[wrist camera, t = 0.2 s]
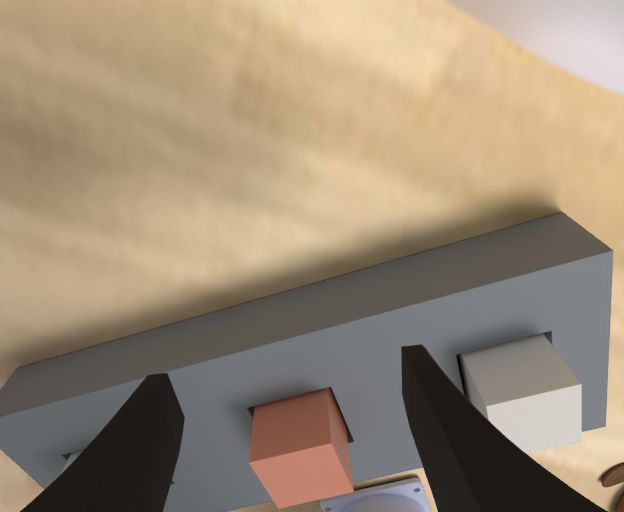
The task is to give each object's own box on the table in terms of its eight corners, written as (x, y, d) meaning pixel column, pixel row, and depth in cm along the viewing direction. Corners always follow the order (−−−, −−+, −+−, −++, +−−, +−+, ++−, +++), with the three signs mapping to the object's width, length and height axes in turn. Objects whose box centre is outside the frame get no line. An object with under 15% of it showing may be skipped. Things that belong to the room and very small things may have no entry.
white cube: (539, 377, 23) (581, 441, 20) (466, 395, 24) (495, 461, 20) (535, 323, 22) (581, 384, 18) (456, 343, 22) (486, 406, 19)
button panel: (566, 374, 28) (605, 426, 24) (120, 481, 32) (99, 539, 28) (562, 211, 22) (613, 250, 18) (16, 368, 26) (-27, 424, 22)
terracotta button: (345, 424, 25) (354, 492, 21) (280, 440, 25) (278, 508, 22) (325, 377, 23) (331, 443, 19) (255, 395, 23) (248, 462, 20)
